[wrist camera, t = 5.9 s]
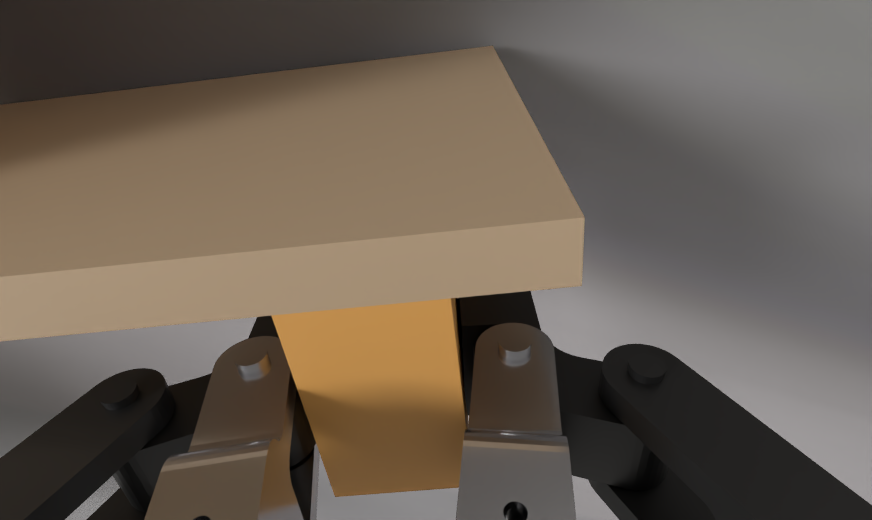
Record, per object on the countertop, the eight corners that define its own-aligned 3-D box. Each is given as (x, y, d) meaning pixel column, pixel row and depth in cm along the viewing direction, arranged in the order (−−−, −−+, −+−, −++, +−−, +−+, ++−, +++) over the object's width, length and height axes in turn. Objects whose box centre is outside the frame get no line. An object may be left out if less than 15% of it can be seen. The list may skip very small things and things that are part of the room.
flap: (-20, 107, 16) (-612, 339, 7) (492, 45, 16) (584, 217, 6) (58, 244, 19) (-297, 545, 10) (500, 198, 18) (573, 478, 9)
